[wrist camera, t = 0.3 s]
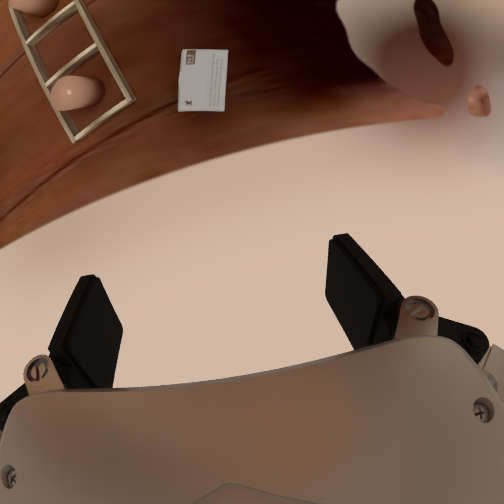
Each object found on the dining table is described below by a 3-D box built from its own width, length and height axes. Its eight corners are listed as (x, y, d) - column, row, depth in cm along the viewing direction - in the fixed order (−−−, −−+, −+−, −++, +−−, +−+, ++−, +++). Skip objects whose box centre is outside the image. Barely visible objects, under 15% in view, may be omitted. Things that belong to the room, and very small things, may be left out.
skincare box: (220, 110, 33) (228, 115, 22) (185, 110, 32) (176, 115, 22) (223, 65, 30) (233, 49, 19) (188, 64, 29) (180, 48, 19)
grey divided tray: (66, -32, 15) (44, -49, 8) (136, 99, 30) (119, 100, 23) (16, 9, 16) (-12, 2, 9) (80, 140, 31) (53, 152, 24)
